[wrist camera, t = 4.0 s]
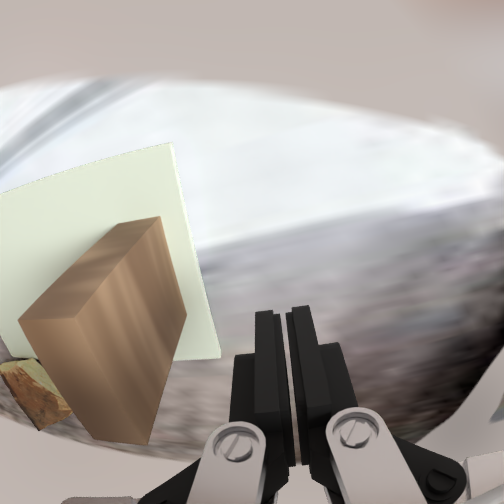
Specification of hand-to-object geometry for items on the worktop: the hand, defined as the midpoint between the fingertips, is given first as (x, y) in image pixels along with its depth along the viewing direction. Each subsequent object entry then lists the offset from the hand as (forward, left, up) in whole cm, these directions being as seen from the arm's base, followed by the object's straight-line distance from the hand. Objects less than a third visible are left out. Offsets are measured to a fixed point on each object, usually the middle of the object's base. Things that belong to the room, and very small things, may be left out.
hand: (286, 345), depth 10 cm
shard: (+22, +12, -8) cm, 26 cm away
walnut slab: (+7, 0, -7) cm, 10 cm away
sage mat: (+14, 0, -8) cm, 16 cm away
